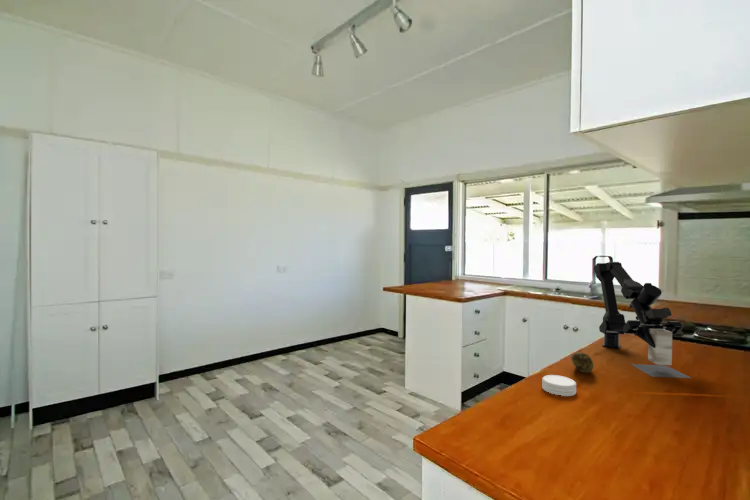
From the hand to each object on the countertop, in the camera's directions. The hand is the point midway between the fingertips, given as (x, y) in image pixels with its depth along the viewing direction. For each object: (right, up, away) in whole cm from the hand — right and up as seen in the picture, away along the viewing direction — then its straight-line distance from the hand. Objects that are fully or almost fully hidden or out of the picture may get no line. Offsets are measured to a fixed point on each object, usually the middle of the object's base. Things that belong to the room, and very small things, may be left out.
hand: (662, 347), depth 132 cm
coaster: (-45, -10, -14) cm, 48 cm away
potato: (-28, -10, +2) cm, 30 cm away
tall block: (0, -6, +2) cm, 6 cm away
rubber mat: (0, -10, +2) cm, 10 cm away
